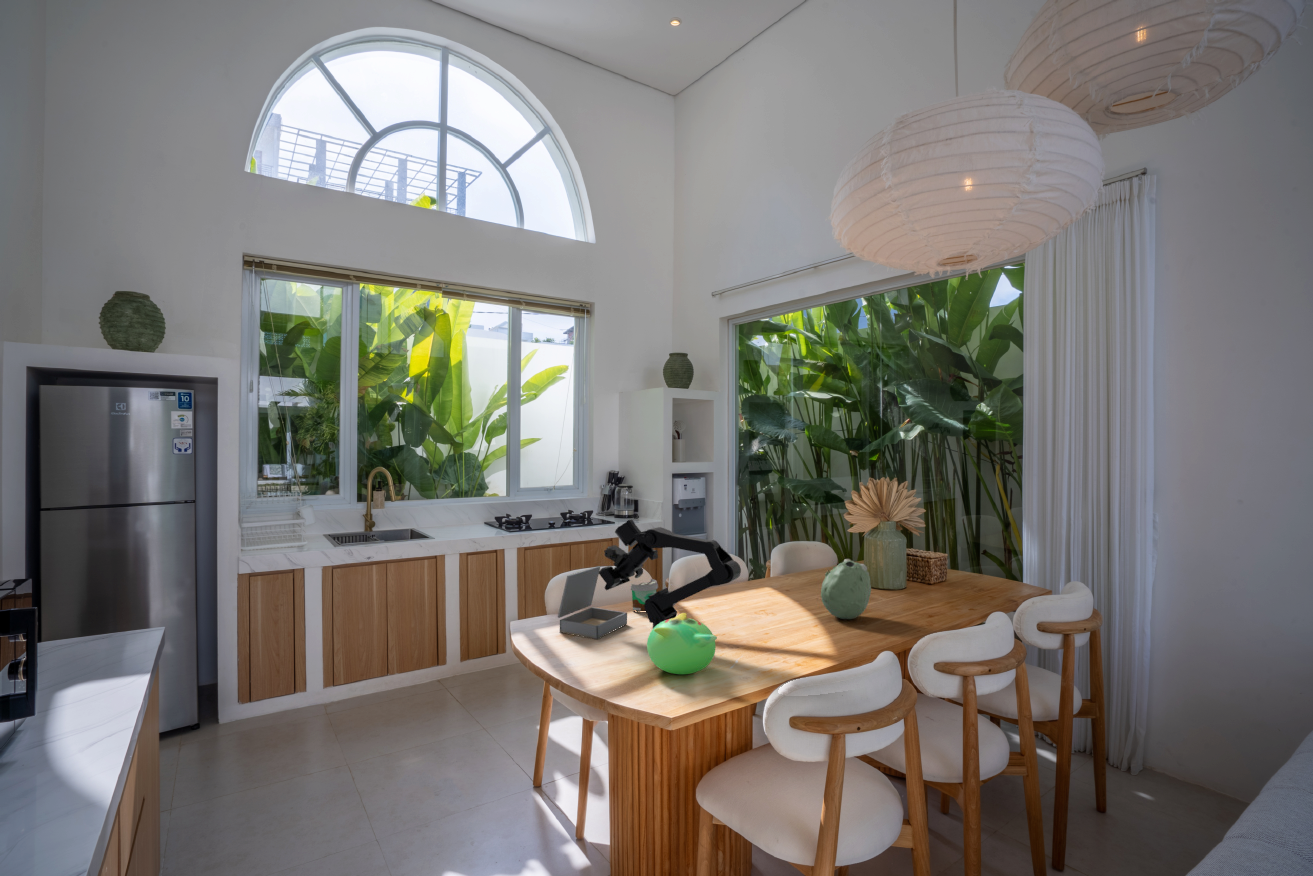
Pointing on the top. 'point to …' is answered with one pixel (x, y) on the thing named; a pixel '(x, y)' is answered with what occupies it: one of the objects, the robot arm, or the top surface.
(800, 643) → the top surface
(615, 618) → the box
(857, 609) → the green avocado
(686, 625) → the toy bird
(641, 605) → the food container
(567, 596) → the mailer lid
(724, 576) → the robot arm
